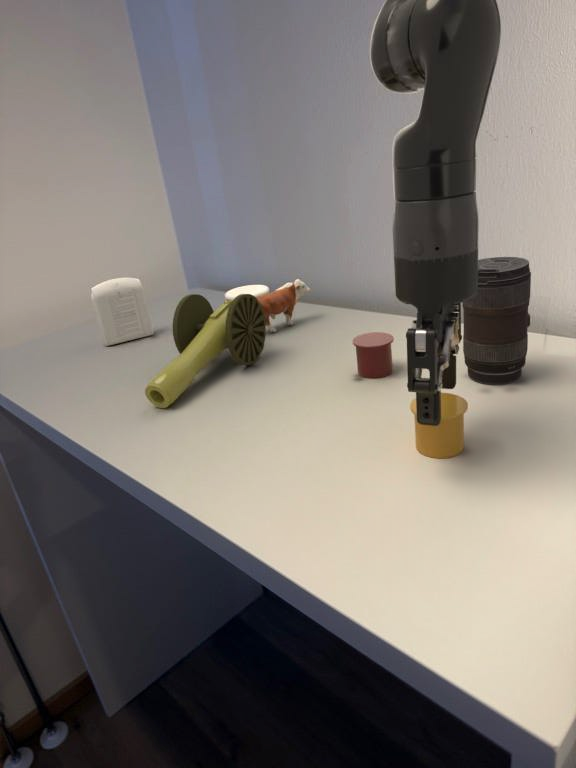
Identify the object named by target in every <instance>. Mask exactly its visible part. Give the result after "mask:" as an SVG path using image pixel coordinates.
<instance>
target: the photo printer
mask: <svg viewBox="0 0 576 768" xmlns="http://www.w3.org/2000/svg"><path fill="white" fill-rule="evenodd" d="M90 292H91V293H90V300H91V304H92V307H93V310H94V314H95V318H96V322H97V325H98V329H99V332H100V336H101V340H102V343H103V345H104V346H107V347H109V346H113V345H116V344H121V343H125V342H128V341H132V340H133V341H134V340H137V339H141V338H145V337H149V336H153V335H154V334H155V331H154V327H153V322H152V318H151V314H150V310H149V306H148V301H147V297H146V296H147V295H146V293H145V289H144V286H143V284H142V283H141V280H140V279H139V278H136V277H116V278H111V279H108V280H105V281H102V282H101V283H98V284H96V285H95V286H93V287H91V288H90Z"/></svg>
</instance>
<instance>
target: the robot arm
mask: <svg viewBox="0 0 576 768" xmlns="http://www.w3.org/2000/svg"><path fill="white" fill-rule="evenodd" d="M501 20H502V19H501V14H500V9H499V4H498V0H385V1H384V3H383V4H382V7H381V8H380V11H379V12H378V14H377V16H376V19H375V22H374V24H373V28H372V32H371V36H370V43H369V61H370V66H371V70H372V72H373V74H374V76H375V78H376V80H377V81H378V82H379V84H380V85H381V86H382V87H383V88H385V89H386V90H388V91H390V92H391V93H392V92H393V93H396V94H408V95H409V94H414V93H419V92H423V94H422V99H421V104H420V107H419V112H418V115H417V118H416V119H415V120H414V121H413V122H412V123H410V124H408V125H407V126H405V127H403V128H401V129H400V130H399V131H397V133H396V134H395V136H394V137H393V138H394V139H393V142H392V150H391V151H392V152H391V154H392V156H391V157H392V161H391V162H392V163H391V164H392V166H391V167H392V187H393V199H394V200H393V213H392V214H393V215H392V242H393V244H392V246H393V264H394V265H393V266H394V267H393V268H394V288H395V297H396V299H397V300H398V301H400V302H401V303H403V304H405V305H411V306H412V307H414V308H416V311H417V313H416V319H413V320H412V321H411V327H409V328H407V331H406V333H405V338H406V365H407V366H406V367H407V368H406V369H407V383H406V386H407V391H408V392H409V393H415V398H416V409H417V422H418V423H419V424H421V425H431V426H437V425H439V424H440V421H441V393H442V390H443V389H444V390H453V389H454V388H455V387H456V385H457V355H458V354H459V352H460V346H459V344H461V341H463V335H462V302H465V301H467V300H469V299H471V298H472V297H474V296H475V295H476V293H477V290H478V260H479V225H480V224H479V223H480V222H479V221H480V220H479V208H478V202H477V192H476V191H477V140H478V136H479V133H480V128H481V124H482V122H483V118H484V114H485V111H486V106H487V101H488V98H489V93H490V90H491V86H492V83H493V82H492V81H493V78H494V74H495V71H496V67H497V63H498V58H499V52H500V47H501V39H502V38H501V37H502V23H501ZM423 370H428V373H429V377H422V375H423V374H422V373H423Z"/></svg>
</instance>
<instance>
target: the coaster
mask: <svg viewBox="0 0 576 768" xmlns="http://www.w3.org/2000/svg"><path fill="white" fill-rule="evenodd" d="M268 293H270V288H269V287H268V286H267V285H265V284H249V285H242V286H238V287H235V288H232V289H229V290H228V291H226V292H225V293H224V298H225V301H226V300H227V299H229V300H232V301H233V300H234V298H235V297H237V296H238V295H240V294H251V295H253V296H254V297H258V296H261V295H265V294H268Z"/></svg>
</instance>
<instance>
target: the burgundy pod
mask: <svg viewBox="0 0 576 768" xmlns="http://www.w3.org/2000/svg"><path fill="white" fill-rule="evenodd" d="M394 340H395V339H394V335H392V334H391V333H388V332H383V331H382V332H380V331H375V332H366V333H362V334H359V335H356V336H355V337H353V338H352V340H351V341H352V345H353V346H354V347H355V353H356V366H357V374H358V375H359V376H360V377H362V378H366V379H381V378H385V377H388V376H390V375H391V374H392V373H393V371H394V370H393V353H392V352H393V351H392V343H394Z"/></svg>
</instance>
